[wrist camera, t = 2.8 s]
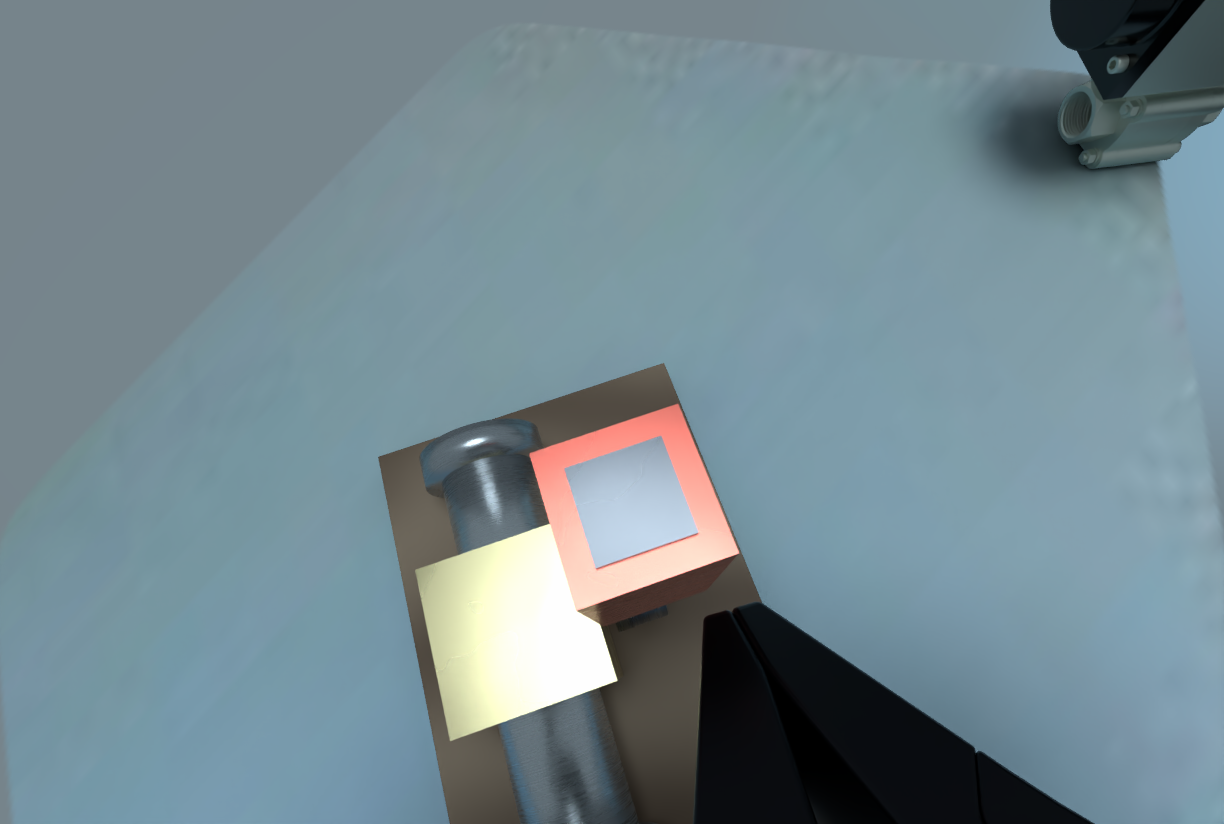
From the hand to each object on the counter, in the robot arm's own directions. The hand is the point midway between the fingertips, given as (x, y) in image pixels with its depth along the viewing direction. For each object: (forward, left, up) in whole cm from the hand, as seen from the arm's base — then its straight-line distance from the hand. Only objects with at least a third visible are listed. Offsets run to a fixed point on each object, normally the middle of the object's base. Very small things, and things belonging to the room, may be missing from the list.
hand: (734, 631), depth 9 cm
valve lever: (+2, +1, -9) cm, 9 cm away
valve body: (+2, +4, -12) cm, 13 cm away
